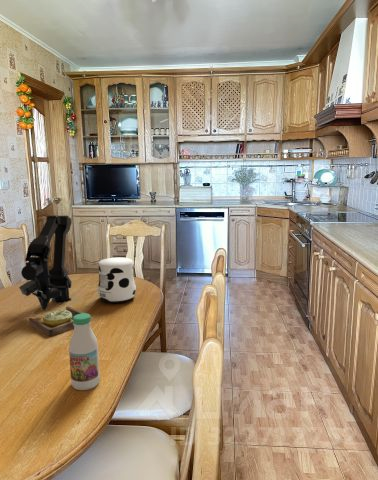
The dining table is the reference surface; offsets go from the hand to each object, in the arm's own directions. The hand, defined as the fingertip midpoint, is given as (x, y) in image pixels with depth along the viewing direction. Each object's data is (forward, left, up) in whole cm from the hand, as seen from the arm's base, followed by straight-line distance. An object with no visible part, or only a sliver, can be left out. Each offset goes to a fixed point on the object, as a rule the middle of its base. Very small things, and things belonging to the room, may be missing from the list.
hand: (44, 309), depth 149 cm
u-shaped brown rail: (0, +11, -3) cm, 12 cm away
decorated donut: (0, +10, -3) cm, 10 cm away
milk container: (-32, +7, -3) cm, 33 cm away
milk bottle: (+17, +55, -3) cm, 58 cm away
